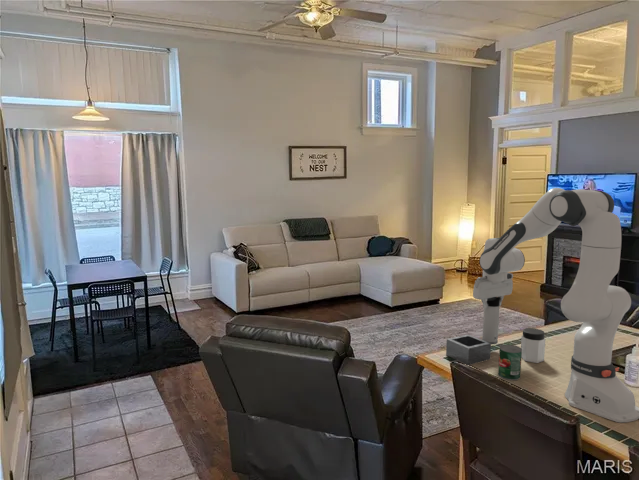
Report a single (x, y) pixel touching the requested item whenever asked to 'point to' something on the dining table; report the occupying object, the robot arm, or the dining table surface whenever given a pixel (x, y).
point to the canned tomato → (509, 362)
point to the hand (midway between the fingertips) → (492, 306)
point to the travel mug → (491, 320)
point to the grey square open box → (468, 349)
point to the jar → (533, 345)
